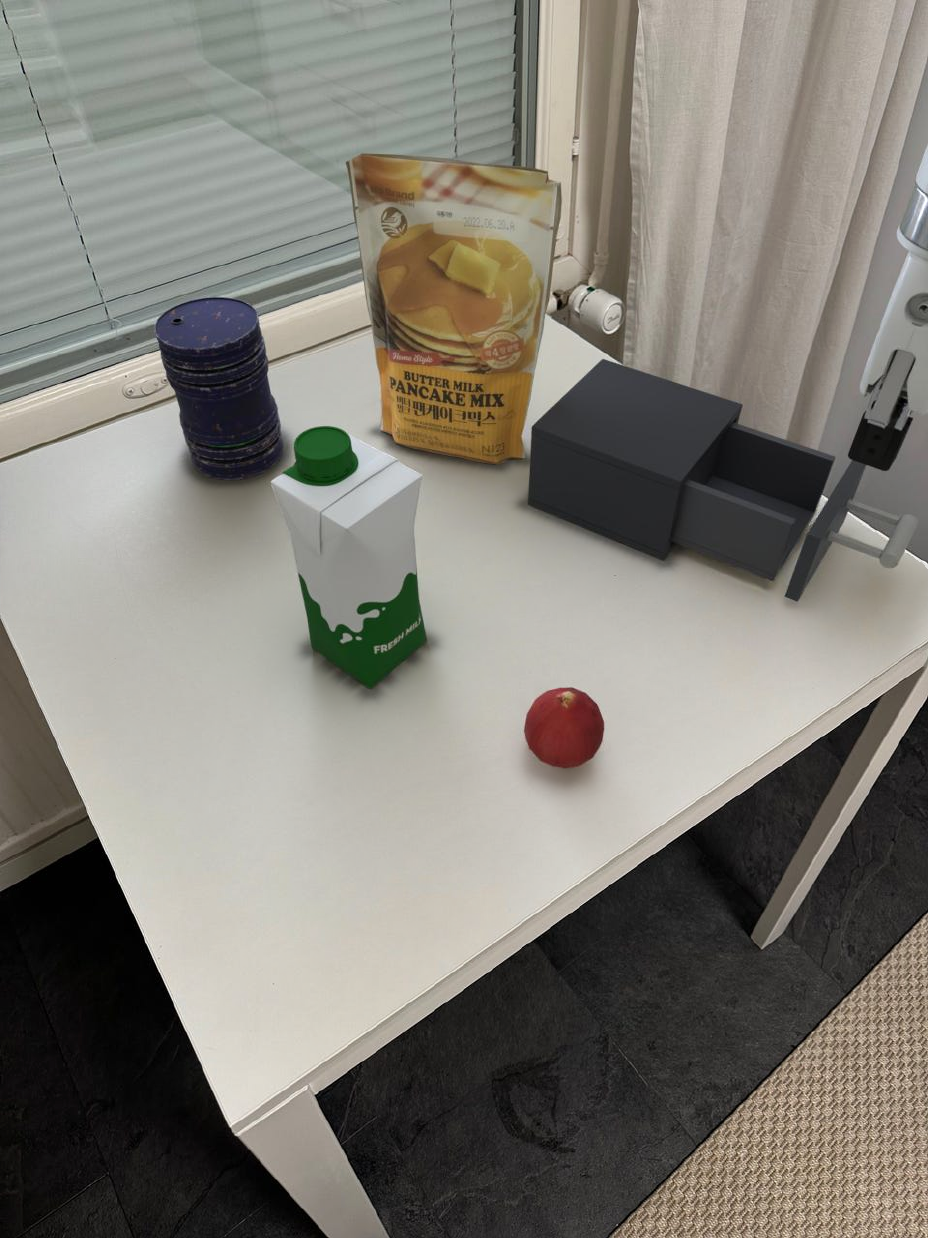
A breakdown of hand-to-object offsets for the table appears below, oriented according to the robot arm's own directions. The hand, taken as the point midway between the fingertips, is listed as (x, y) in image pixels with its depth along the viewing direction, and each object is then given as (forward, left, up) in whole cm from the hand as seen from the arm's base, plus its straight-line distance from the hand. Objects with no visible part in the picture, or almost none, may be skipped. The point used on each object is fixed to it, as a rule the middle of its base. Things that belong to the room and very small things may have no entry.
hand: (870, 459), depth 68 cm
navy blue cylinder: (+55, -24, -15) cm, 62 cm away
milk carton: (+40, +4, -15) cm, 43 cm away
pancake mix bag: (+32, -25, -15) cm, 43 cm away
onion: (+25, +16, -15) cm, 33 cm away
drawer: (+2, -6, -14) cm, 15 cm away
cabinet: (+15, -15, -15) cm, 26 cm away
